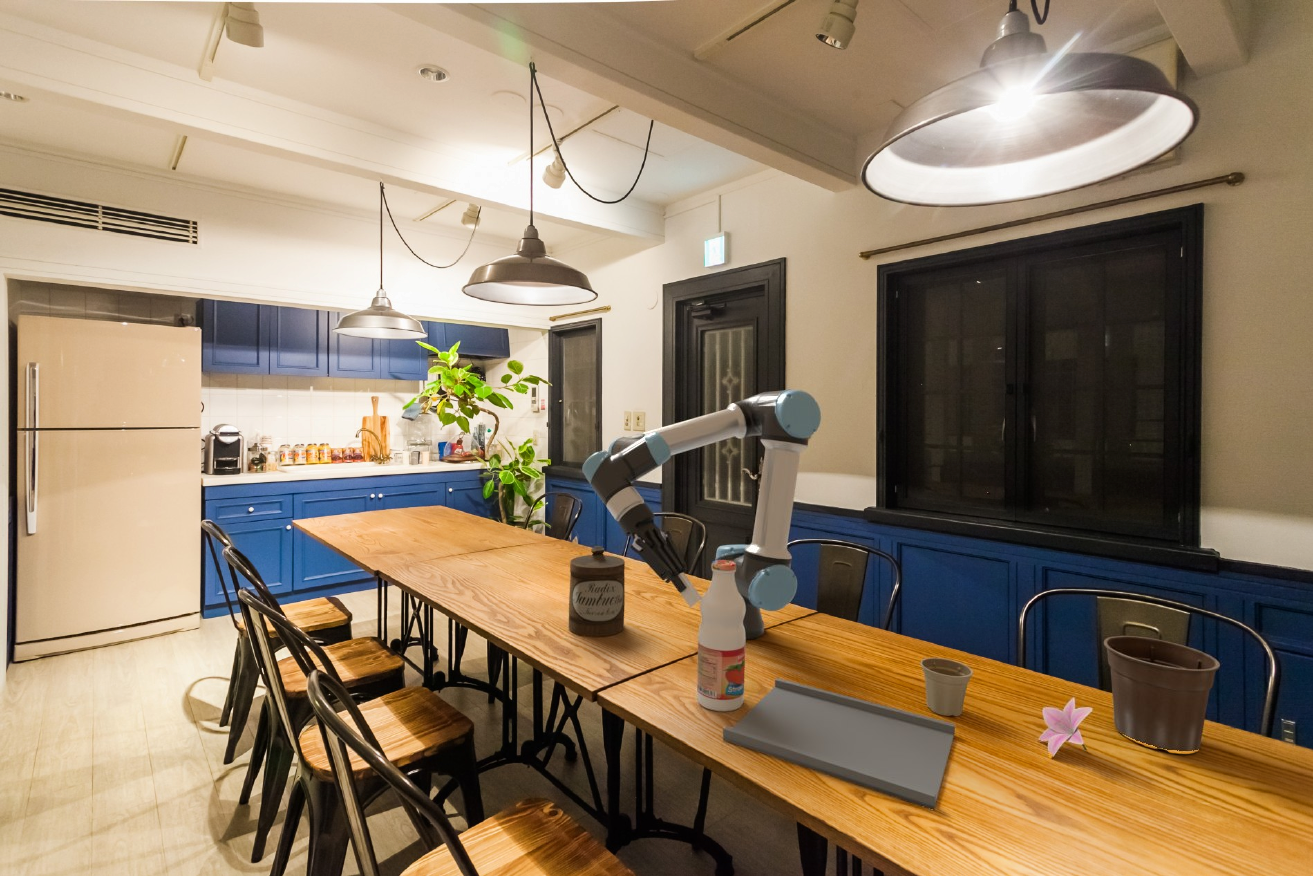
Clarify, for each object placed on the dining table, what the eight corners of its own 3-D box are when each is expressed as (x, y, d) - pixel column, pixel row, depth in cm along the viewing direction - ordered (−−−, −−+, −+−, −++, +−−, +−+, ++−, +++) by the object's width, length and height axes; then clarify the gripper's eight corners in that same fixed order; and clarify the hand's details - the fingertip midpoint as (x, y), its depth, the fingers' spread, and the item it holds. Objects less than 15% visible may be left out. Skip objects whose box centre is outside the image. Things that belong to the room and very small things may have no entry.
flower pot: (967, 703, 123) (968, 661, 123) (975, 725, 114) (977, 680, 114) (917, 695, 126) (918, 654, 126) (920, 716, 117) (922, 672, 117)
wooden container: (571, 639, 153) (573, 552, 153) (566, 620, 168) (567, 541, 167) (628, 635, 157) (630, 551, 156) (618, 617, 171) (620, 540, 171)
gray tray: (723, 740, 106) (723, 728, 106) (776, 687, 128) (777, 678, 128) (934, 810, 88) (934, 797, 88) (954, 735, 110) (955, 724, 110)
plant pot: (1182, 771, 100) (1187, 674, 100) (1081, 725, 115) (1084, 641, 114) (1235, 752, 107) (1239, 661, 106) (1132, 711, 121) (1136, 631, 121)
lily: (1045, 734, 113) (1024, 693, 113) (1112, 730, 107) (1090, 687, 106) (1045, 779, 104) (1022, 735, 104) (1118, 778, 98) (1094, 731, 98)
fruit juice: (702, 688, 127) (706, 555, 126) (747, 695, 124) (751, 559, 123) (691, 708, 118) (695, 565, 117) (739, 716, 115) (743, 570, 114)
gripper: (637, 519, 138) (699, 605, 130) (603, 527, 128) (668, 621, 119) (658, 498, 135) (722, 585, 127) (624, 504, 125) (692, 599, 116)
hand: (696, 602), depth 123 cm, fingers closed
